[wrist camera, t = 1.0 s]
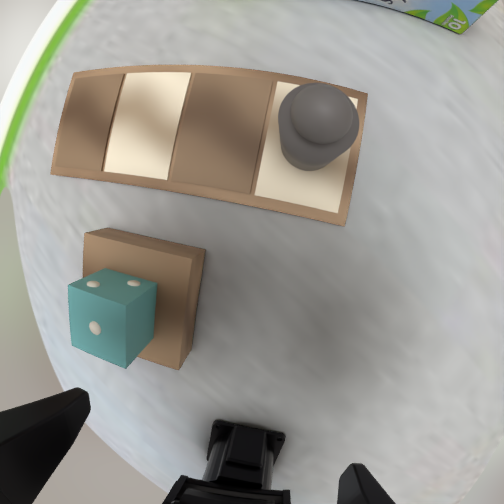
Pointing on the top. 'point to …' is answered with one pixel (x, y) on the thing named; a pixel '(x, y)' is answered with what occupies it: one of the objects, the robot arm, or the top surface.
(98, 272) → the die
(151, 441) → the top surface
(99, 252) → the brown block
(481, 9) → the snack box
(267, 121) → the track
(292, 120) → the pawn
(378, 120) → the top surface
